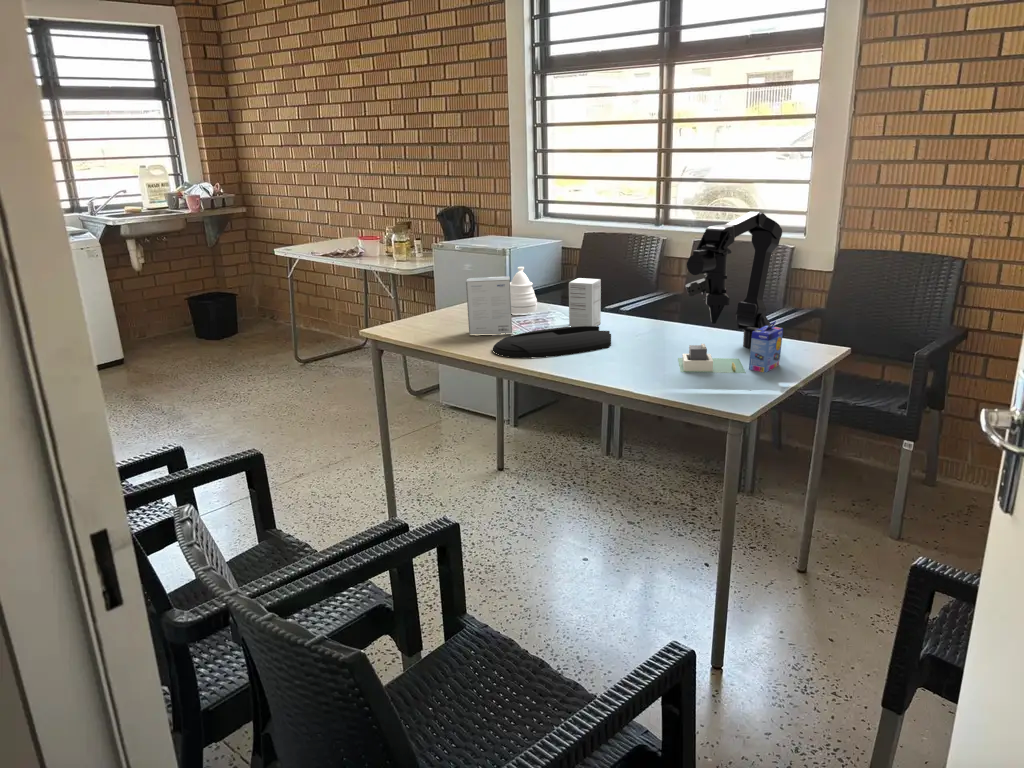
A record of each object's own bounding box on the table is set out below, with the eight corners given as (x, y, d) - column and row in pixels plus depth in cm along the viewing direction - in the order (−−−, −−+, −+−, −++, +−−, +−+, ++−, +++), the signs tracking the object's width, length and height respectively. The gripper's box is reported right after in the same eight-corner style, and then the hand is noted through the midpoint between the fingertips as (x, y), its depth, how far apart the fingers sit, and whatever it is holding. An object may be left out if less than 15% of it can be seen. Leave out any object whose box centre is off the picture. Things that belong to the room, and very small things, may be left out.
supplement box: (578, 322, 284) (577, 277, 279) (601, 323, 280) (601, 278, 275) (568, 327, 276) (568, 281, 271) (592, 329, 272) (592, 283, 267)
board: (677, 361, 229) (677, 353, 228) (738, 361, 226) (739, 353, 226) (680, 375, 215) (680, 367, 214) (745, 376, 212) (746, 367, 211)
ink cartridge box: (766, 376, 212) (769, 325, 207) (747, 372, 215) (750, 323, 211) (780, 368, 219) (784, 319, 214) (762, 365, 222) (765, 317, 218)
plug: (688, 365, 221) (689, 343, 219) (704, 365, 220) (705, 343, 219) (690, 369, 217) (690, 347, 215) (706, 369, 216) (707, 347, 214)
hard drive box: (512, 330, 275) (510, 276, 269) (512, 335, 267) (510, 279, 261) (470, 331, 275) (467, 277, 269) (468, 336, 268) (465, 280, 262)
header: (682, 363, 223) (682, 353, 222) (710, 363, 222) (710, 353, 221) (683, 371, 215) (684, 361, 215) (712, 371, 214) (713, 361, 213)
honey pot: (508, 309, 311) (506, 265, 306) (539, 309, 309) (538, 265, 304) (502, 315, 299) (501, 270, 294) (535, 316, 297) (533, 270, 292)
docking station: (481, 346, 255) (480, 332, 254) (588, 332, 269) (588, 319, 268) (508, 364, 233) (507, 349, 232) (623, 348, 247) (623, 333, 246)
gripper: (685, 266, 228) (683, 316, 233) (689, 276, 211) (687, 330, 215) (723, 265, 227) (720, 316, 231) (731, 276, 209) (728, 330, 214)
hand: (713, 323), depth 223 cm, fingers closed
